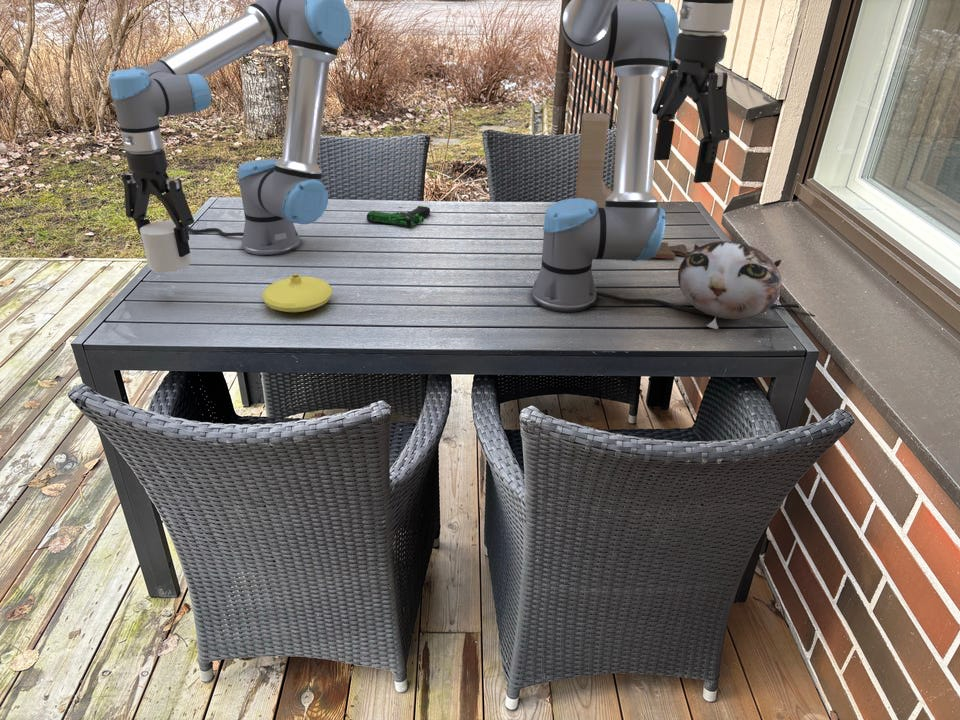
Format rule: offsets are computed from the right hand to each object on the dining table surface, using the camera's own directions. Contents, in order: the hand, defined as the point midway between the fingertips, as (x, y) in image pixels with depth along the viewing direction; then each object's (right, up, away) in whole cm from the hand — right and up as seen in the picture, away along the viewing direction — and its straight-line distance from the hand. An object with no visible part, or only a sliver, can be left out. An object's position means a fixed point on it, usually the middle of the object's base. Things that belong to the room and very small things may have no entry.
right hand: (680, 170), depth 121 cm
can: (-104, -10, +41) cm, 112 cm away
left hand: (-104, -8, +40) cm, 112 cm away
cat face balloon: (+21, -22, +43) cm, 53 cm away
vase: (-76, -19, +45) cm, 90 cm away
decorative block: (+3, +12, +100) cm, 101 cm away
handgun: (-58, +11, +96) cm, 112 cm away
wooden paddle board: (+10, -3, +75) cm, 76 cm away
